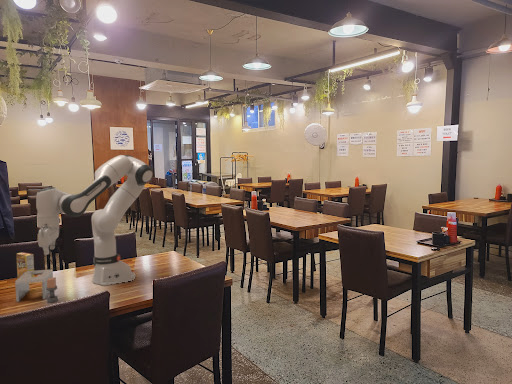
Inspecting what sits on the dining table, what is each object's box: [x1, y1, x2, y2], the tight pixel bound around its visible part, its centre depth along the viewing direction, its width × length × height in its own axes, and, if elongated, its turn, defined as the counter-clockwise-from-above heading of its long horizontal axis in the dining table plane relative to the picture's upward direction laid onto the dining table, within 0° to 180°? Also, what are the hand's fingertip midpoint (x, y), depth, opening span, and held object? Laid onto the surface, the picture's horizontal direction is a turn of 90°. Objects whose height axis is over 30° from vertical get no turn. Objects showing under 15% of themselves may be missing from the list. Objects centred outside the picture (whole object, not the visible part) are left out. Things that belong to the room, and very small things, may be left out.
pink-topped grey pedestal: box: [46, 276, 59, 304], centre depth 167 cm, size 4×4×11 cm
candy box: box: [16, 251, 35, 279], centre depth 193 cm, size 9×4×15 cm, turn 66°
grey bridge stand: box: [14, 269, 54, 303], centre depth 174 cm, size 12×15×10 cm
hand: (49, 251), depth 165 cm, fingers open, 8 cm apart
